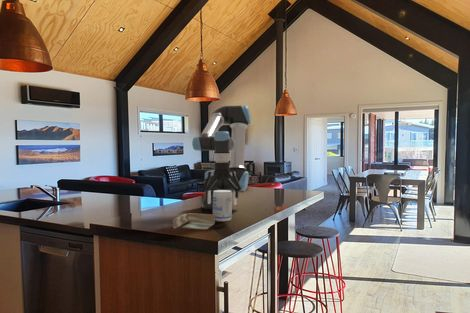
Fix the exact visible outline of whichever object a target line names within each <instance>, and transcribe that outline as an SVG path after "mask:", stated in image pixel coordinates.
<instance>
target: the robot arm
mask: <svg viewBox="0 0 470 313" xmlns="http://www.w3.org/2000/svg"><path fill="white" fill-rule="evenodd" d="M251 123H252V118H251V111H250V107H249V106H248V105H244V104H243V105H224V106H220V107H218V108H217V109H215V110H213V112H212V113H210V115H209V118H208V122H207V124H206V126H205V127H204V129H203V130H202V131H201V132H202V133H201V134H200V135H199V136H195V137H193V138H192V149H193V150H194V151H196V152H198V151H199V152H203V151H204V152H205V151H212V152H213V151H214V169H212V170H207V171H205V173H204V183H203V186H202V187H201V188H202V190H204V198H203V200H202V203H201V208H202V209H205V210H213V191H215V190H230V191H231V192H233V206H236V205H237V199H238V198H239V192H242V191H246V189H247V188H248V185H249V179H250V172H249V171H247V168H246V167H245V150H246V148H245V147H246V130H247V129H248V128H249V125H250V124H251ZM224 125H229V127H230V128H231V136H230V132H229V131H225V130H223V131H222V130H221V131H219V129H220V128H221V127H222V126H224Z"/></svg>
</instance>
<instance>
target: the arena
mask: <svg viewBox="0 0 470 313" xmlns="http://www.w3.org/2000/svg"><path fill="white" fill-rule="evenodd" d="M186 223H187V224H186ZM215 224H216V221H215V214H213V213H211V214H210V213H191V212H185V213H183V214H181V215H179V216H177V217H176V218H173V219H172V229H177V228H179V227H181V226H182V227H181V228H182V229H192V230H193V229H194V230H208V229H210V228H211V227H213V226H214V225H215Z"/></svg>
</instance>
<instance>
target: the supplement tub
mask: <svg viewBox="0 0 470 313" xmlns="http://www.w3.org/2000/svg"><path fill="white" fill-rule="evenodd" d="M232 192H233V191H230V190H215V191H213V209H212V214H215V222H229V221H231V220H232V211H233V210H232V207H233V206H232V205H233V204H232V202H233V201H232V199H233V196H232V195H233V193H232Z"/></svg>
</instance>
